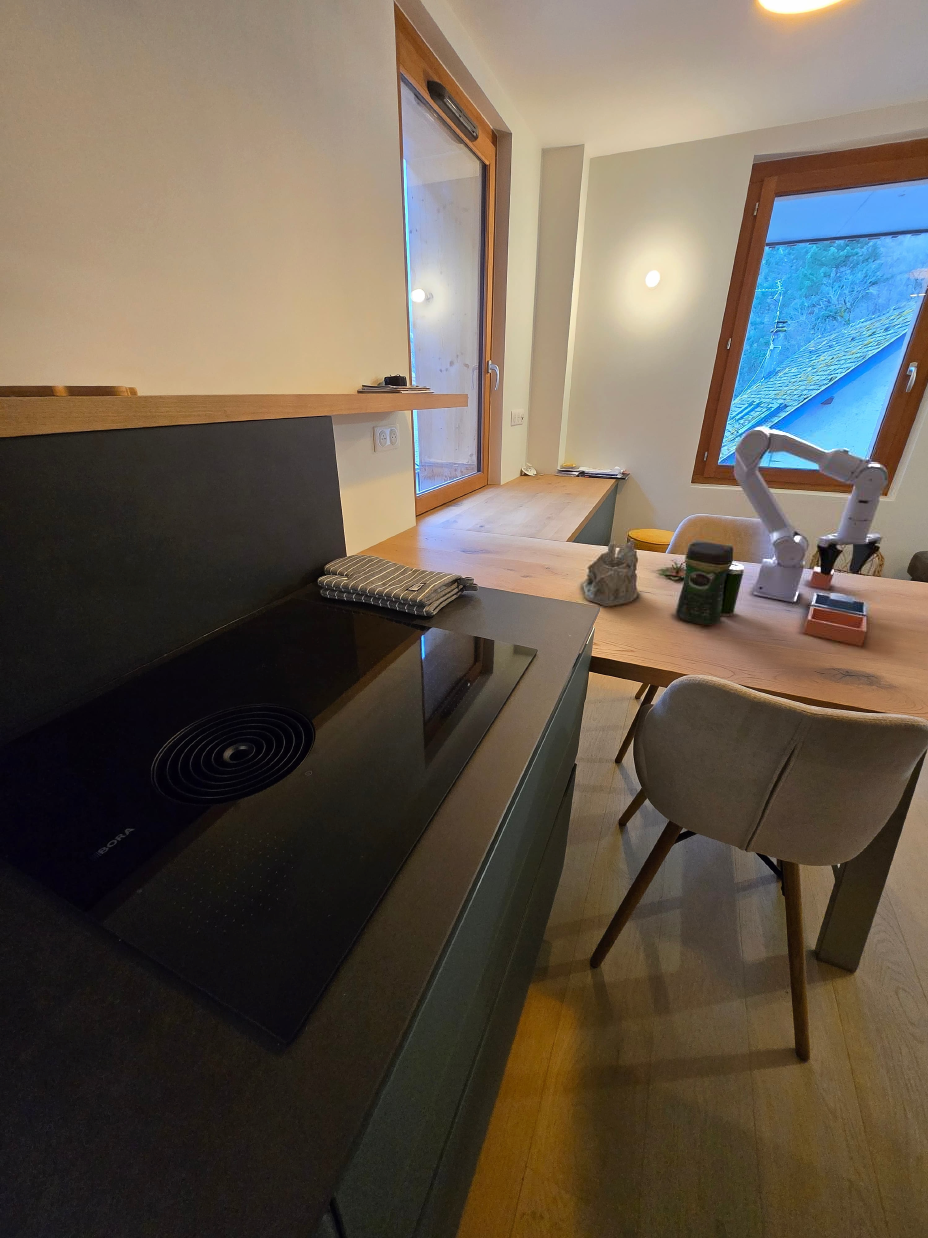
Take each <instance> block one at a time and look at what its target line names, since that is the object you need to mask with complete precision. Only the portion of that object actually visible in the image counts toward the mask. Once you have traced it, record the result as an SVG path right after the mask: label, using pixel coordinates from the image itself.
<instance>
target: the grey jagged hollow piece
mask: <svg viewBox="0 0 928 1238" xmlns="http://www.w3.org/2000/svg"><path fill="white" fill-rule="evenodd" d="M616 551H617V544H616V542H615V541H610V542H609V543H608V547H607V551H605V552H603V553H601V554H600V555H599V556H598V558H596V559H595V560H594V561H593V562H592V563H591V564H589V565H588V566H587V570H588V572H587V573H586V577H587V578H585V581H584V582H585V583H583V584H582V587H583V591H584V594H585V598H586V599H587V600H588V601H589V602H591V603H596V604H598V605H601V606H604V607H613V606H619V605H623V604H628V603H631V602H633V601H634V600H635V599H636V598H637V596H638V588H637V587H638V585H637V582H638V581H637V580H638V575H637V570H638V569H637V567H638V565H637V564H638V562H639V557H638V553H637V552H638V551H637V550H636V549H635V539H633V538H632V539H630V540H629V542H627V543H626V545H625V546H622V545H621V546H619V549H618V551H617V552H616Z"/></svg>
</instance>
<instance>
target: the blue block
mask: <svg viewBox="0 0 928 1238" xmlns="http://www.w3.org/2000/svg"><path fill="white" fill-rule="evenodd" d="M829 595H830V596H829V599H828V602H827V605H826V606H828V607H833V608H838V609H844V610H849V611H851V608H852V605H853V600H855V599H854V598H855V597H854V596H853V595H847V594H842V593H836V592H832V591H831V592H830V593H829Z"/></svg>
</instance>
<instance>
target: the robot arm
mask: <svg viewBox="0 0 928 1238" xmlns="http://www.w3.org/2000/svg"><path fill="white" fill-rule="evenodd" d="M766 453H767V454H774V453H787V454H789V455H792V456H794V457H797V458H799V459H802V460H805V461H807V462H811V463H812V464H815V465H817V466H818V470H819V473H820V474H823V475H825V476H828V477H830V478H833V479H835V480H837V481H840V482H842V483H844V484H848V485H849V484H853V487H852V491H851V494H850V495H849V496H848V498H847V501H846V505H845V508H844V511H843V514H842V517H841V520H840V523H839V526H838V530H837V532H836V533H834V534H829V535H826V536H819V539H818V542H817V545H816V548H817V551H818V554H819V561H820V567H821V573H822V574H824V575H830V573H831V571H832V569H834V566H835V564H836V562H837V560H838V558H839V557H840V556H841V554H842V553H843V552H844V551H843V549H840V548H839V547H838V546H850V545H852V554H851V559H850V563H849V567H848V572H851V573H853V574H855V575H857V574H859V573H860V572H861V570H862V569H863V568H864V567H865V565H866V563H868V561H869V560H870V559H871V558H872V557H873V556H874V555H875V554H876V553H878V552H879V551H880V550H881V549H880V548H881V546H879V545H881V543H882V540H883V535H881V534H878V533H870V529H871V526H872V524H873V520H874V518H875V515H876V512H877V509H878V507H879V504H880V502H881V501H880V498H881V496H882V494H883V489H884V488H885V487H886V486H887V485H888V483H889V474H888V470H887V468H886V467H885V466H883V464H881V463H880V462H876V461H873V460H872V459H871V458H869V457H867V458H866V459H865V458H862V457H860V456H858V455H854V454H852V453H850V449H848V448H847V447H843V449H840V448H834V449H831V450H825V449H824V448H821V447H818V446H816V445H814V444H812V443H810V442H808V441H805V440H804V439H803V440H802V439H800V438H798V437H796V436H794V435H791V434H790V433H786V432H783V431H781V430H777V429H770V427H767V426H757V427H755V428H753V429H750V430H747V431H746V432H744V433H743V434H742V435H741V437H740V438H739V440H738V442H737V444H736V446H735V448H734V454H735V456H734V457H735V458H734V468H733V475H734V476H733V477H734V478H735V480H736V481H737V483H738V484H739V487H740V488H741V490H742V492H743V493H744V494H745V496H746V498H747V499H748V501H749V503H750V504H751V506H752V508H753V509H754V511H755V512H756V514H757V516H758V517H759V519H760V521H761V523H762V524H763V526H764V527H765V530H766V531H767V533H768V534H769V538H770V542H771V545H772V547H773V549H774V556H772V559H765V558H764V559H763V560H762V562H761V565H760V569H759V571H758V576H757V578H756V581H755V584H754V586H755V588H754V591H753V595H754V596H759V597H763V598H769V599H774V600H778V601H779V600H780V601H784V602H789V603H796V602H797V599H798V596H799V594H800V592H799V590H798V589H799V586H800V583H801V579H802V577H803V576H802V575H803V572H804V570H805V565H806V562H805V561H804V559H805V557H806V553H807V551H808V549H809V546H810V545H809V539H807V537H806V536H805V535H804V534H801V533H800V532H798V530H797V528H796V527H795V525H793V524H792V523H791V522H790V521H789V519H788V518H787V516H786V514H785V513H784V511H783V509H782V508H781V506H780V504H779V503H778V501H777V499H776V498H775V496H774V495H773V493H772V491H771V490H770V488H769V486H768V484H767V483H766V481H765V480H764V478H763V476H762V474H761V473H760V472H759V467H760V465H761V462H762V460H763V457H764V456H765V455H766Z"/></svg>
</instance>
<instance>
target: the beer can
mask: <svg viewBox="0 0 928 1238" xmlns="http://www.w3.org/2000/svg"><path fill="white" fill-rule="evenodd" d="M743 575H744V566H743V565H742V564H739V563H736V562H732V565H731V567H730V568H729V570H728V571H727V574H726V578H725V582H724V590H723V600H722V610H721V616H720V617H730V616H732V615H733V614H734V612H735V609H736V605H737V601H738V597H739V593H740V588H741V585H742V580H743Z"/></svg>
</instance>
